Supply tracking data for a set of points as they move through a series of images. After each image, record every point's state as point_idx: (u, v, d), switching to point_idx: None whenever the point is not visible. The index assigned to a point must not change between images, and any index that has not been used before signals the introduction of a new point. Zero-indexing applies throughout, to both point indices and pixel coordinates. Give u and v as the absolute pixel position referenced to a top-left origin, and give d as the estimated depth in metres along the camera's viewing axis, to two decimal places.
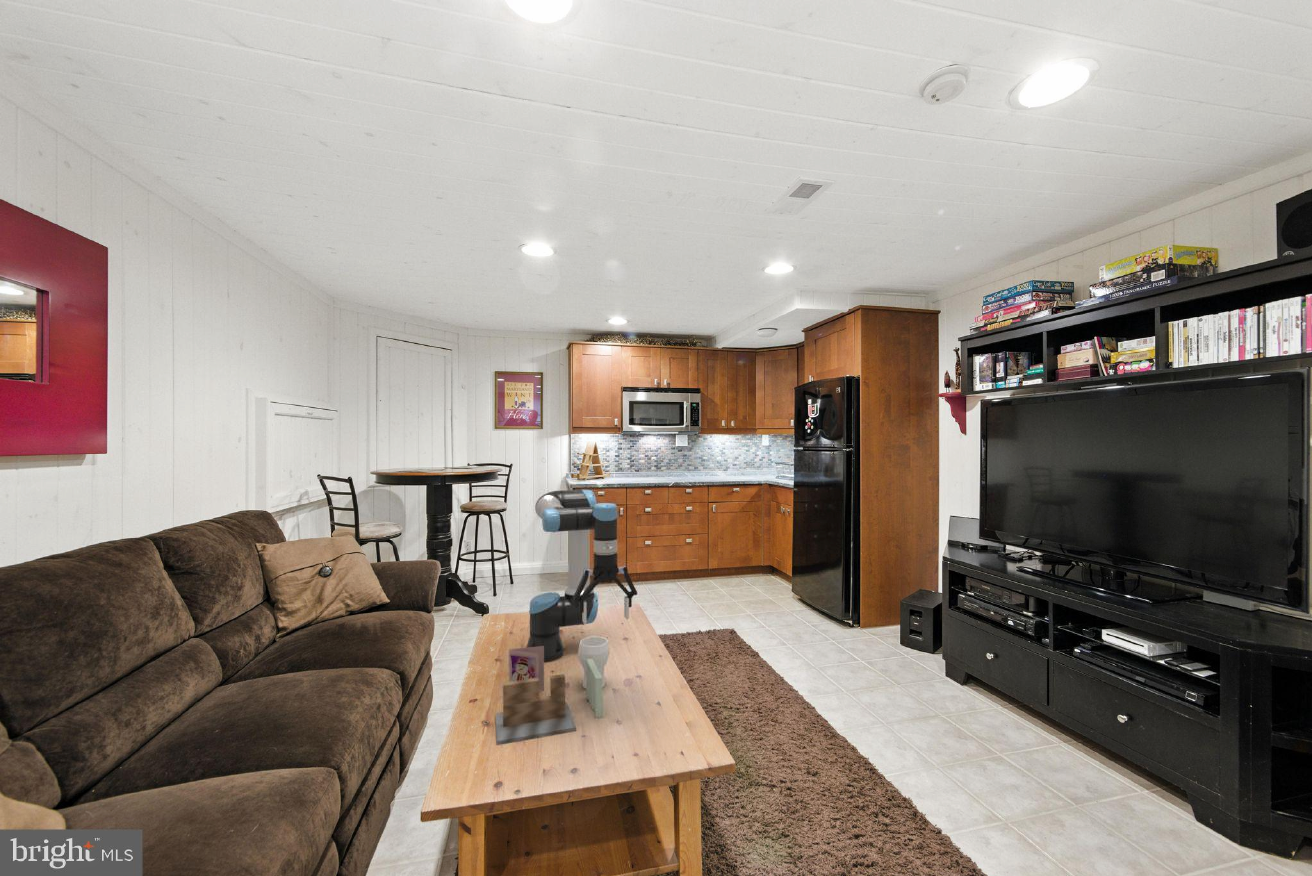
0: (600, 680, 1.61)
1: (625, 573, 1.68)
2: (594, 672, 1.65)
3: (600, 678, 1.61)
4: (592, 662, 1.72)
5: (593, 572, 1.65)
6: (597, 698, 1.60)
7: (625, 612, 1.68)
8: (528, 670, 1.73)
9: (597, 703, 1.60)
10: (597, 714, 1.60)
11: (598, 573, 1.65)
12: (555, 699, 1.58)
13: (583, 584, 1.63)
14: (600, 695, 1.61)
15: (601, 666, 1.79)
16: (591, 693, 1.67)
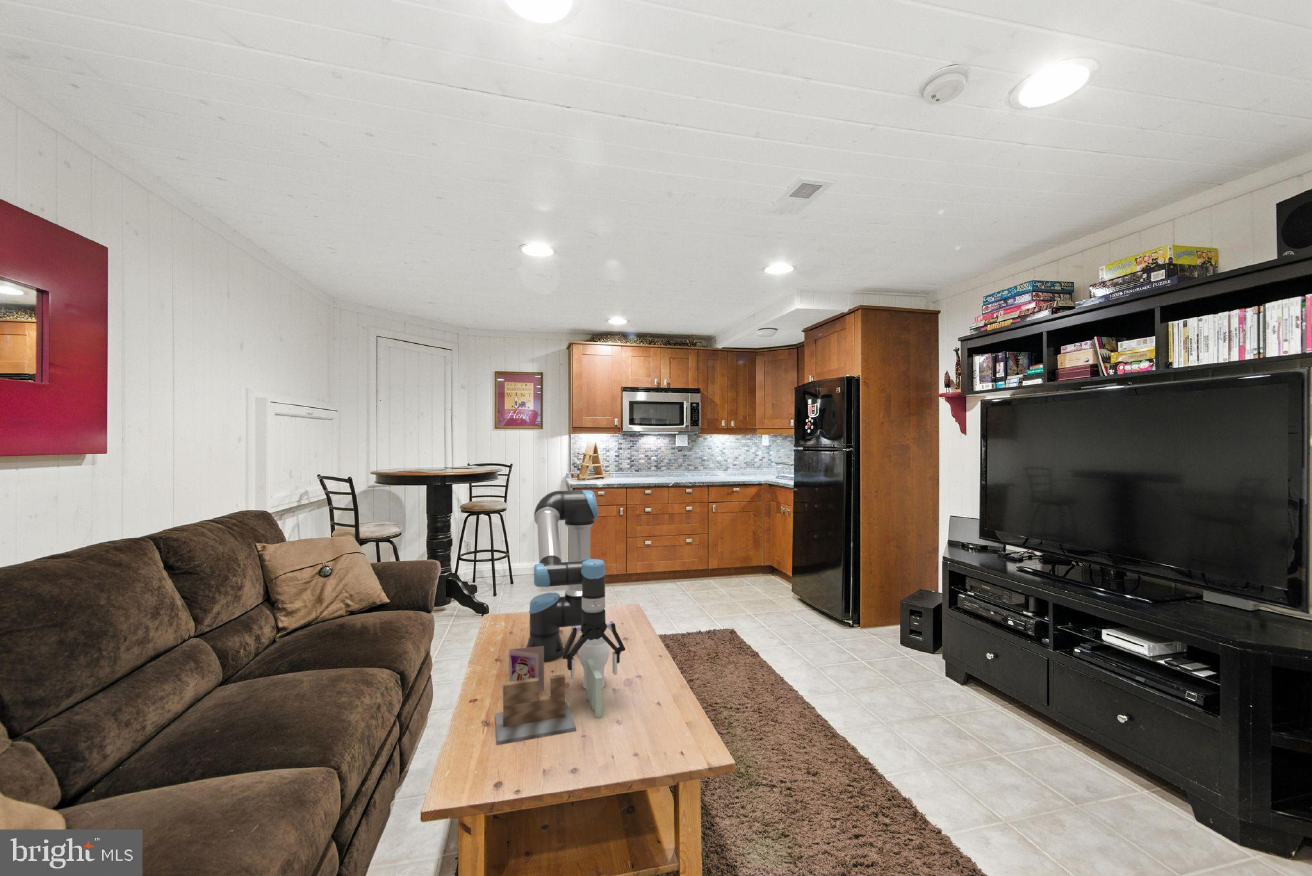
0: (600, 680, 1.61)
1: (613, 629, 1.69)
2: (594, 672, 1.65)
3: (600, 678, 1.61)
4: (592, 662, 1.72)
5: (581, 629, 1.66)
6: (597, 698, 1.60)
7: (613, 668, 1.70)
8: (528, 670, 1.73)
9: (597, 703, 1.60)
10: (597, 714, 1.60)
11: (586, 630, 1.66)
12: (555, 699, 1.58)
13: (571, 642, 1.65)
14: (600, 695, 1.61)
15: (601, 666, 1.79)
16: (591, 693, 1.67)
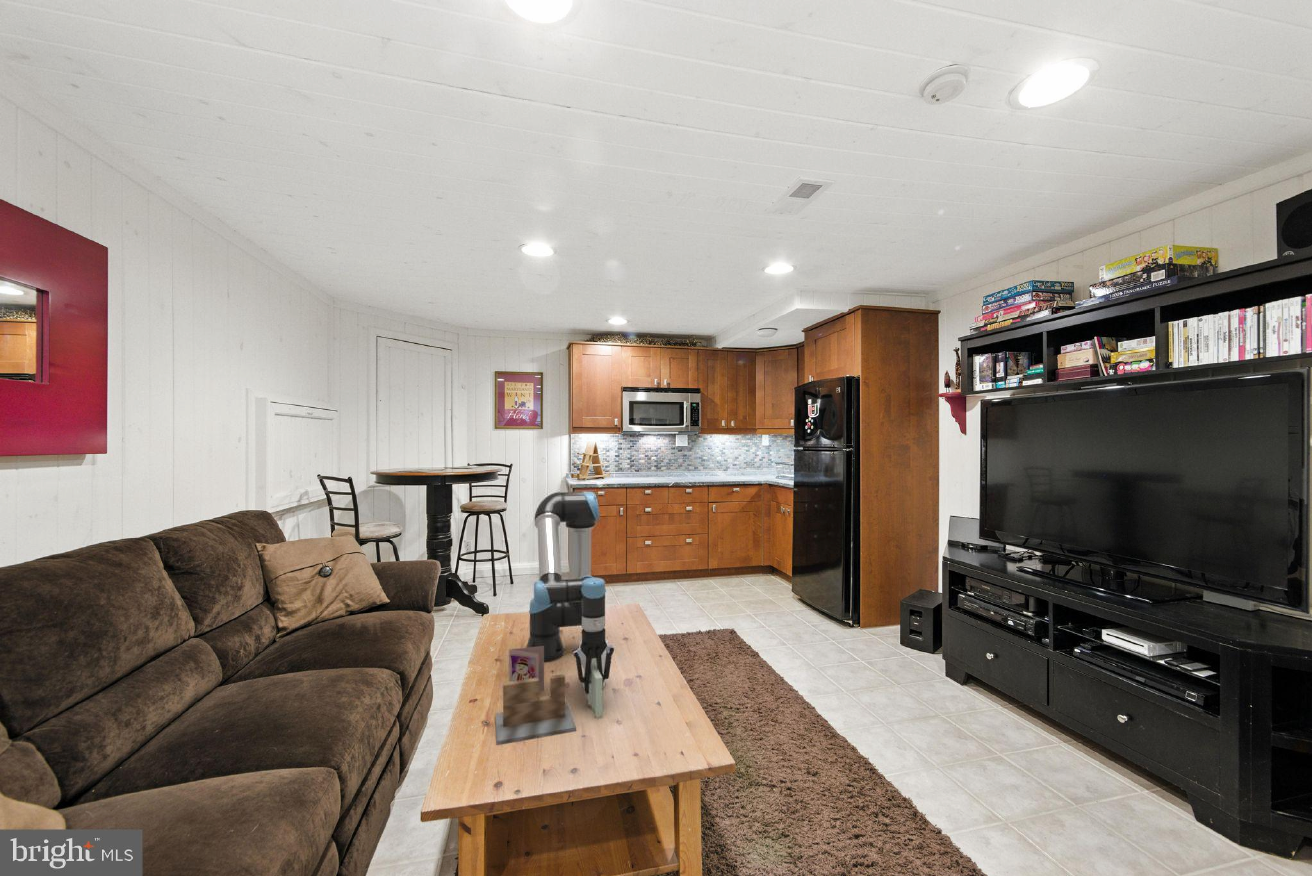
0: (600, 680, 1.61)
1: (609, 653, 1.69)
2: (594, 672, 1.65)
3: (600, 678, 1.61)
4: (592, 662, 1.72)
5: (582, 650, 1.66)
6: (597, 698, 1.60)
7: None
8: (528, 670, 1.73)
9: (597, 703, 1.60)
10: (597, 714, 1.60)
11: (586, 648, 1.67)
12: (555, 699, 1.58)
13: (579, 666, 1.66)
14: (600, 695, 1.61)
15: None
16: None
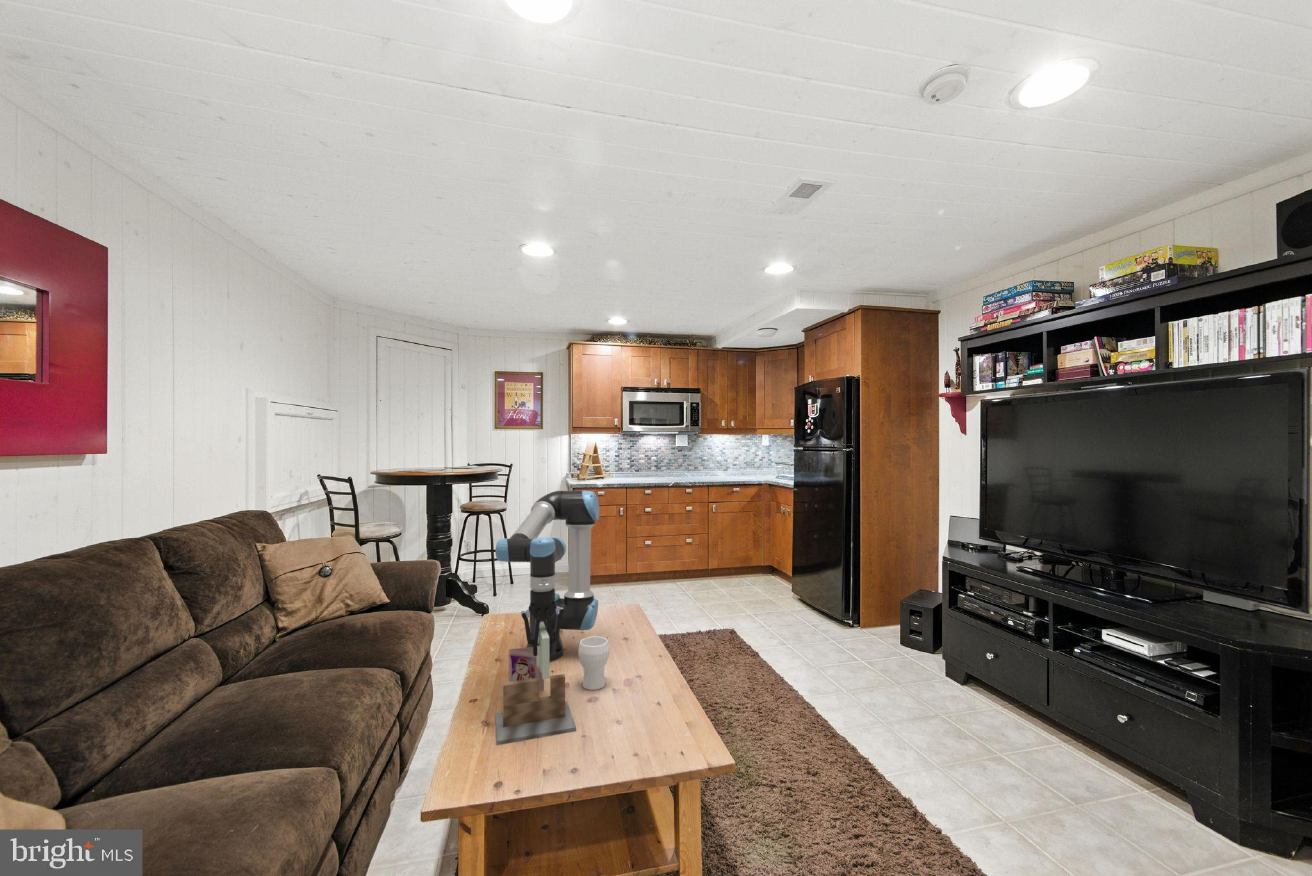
0: (547, 640, 1.56)
1: (559, 615, 1.64)
2: (542, 633, 1.59)
3: (546, 638, 1.56)
4: (542, 624, 1.67)
5: (530, 611, 1.61)
6: (544, 659, 1.55)
7: None
8: (528, 670, 1.73)
9: (544, 664, 1.55)
10: (544, 675, 1.55)
11: (535, 609, 1.62)
12: (555, 699, 1.58)
13: (527, 626, 1.61)
14: (547, 656, 1.56)
15: (601, 666, 1.79)
16: None
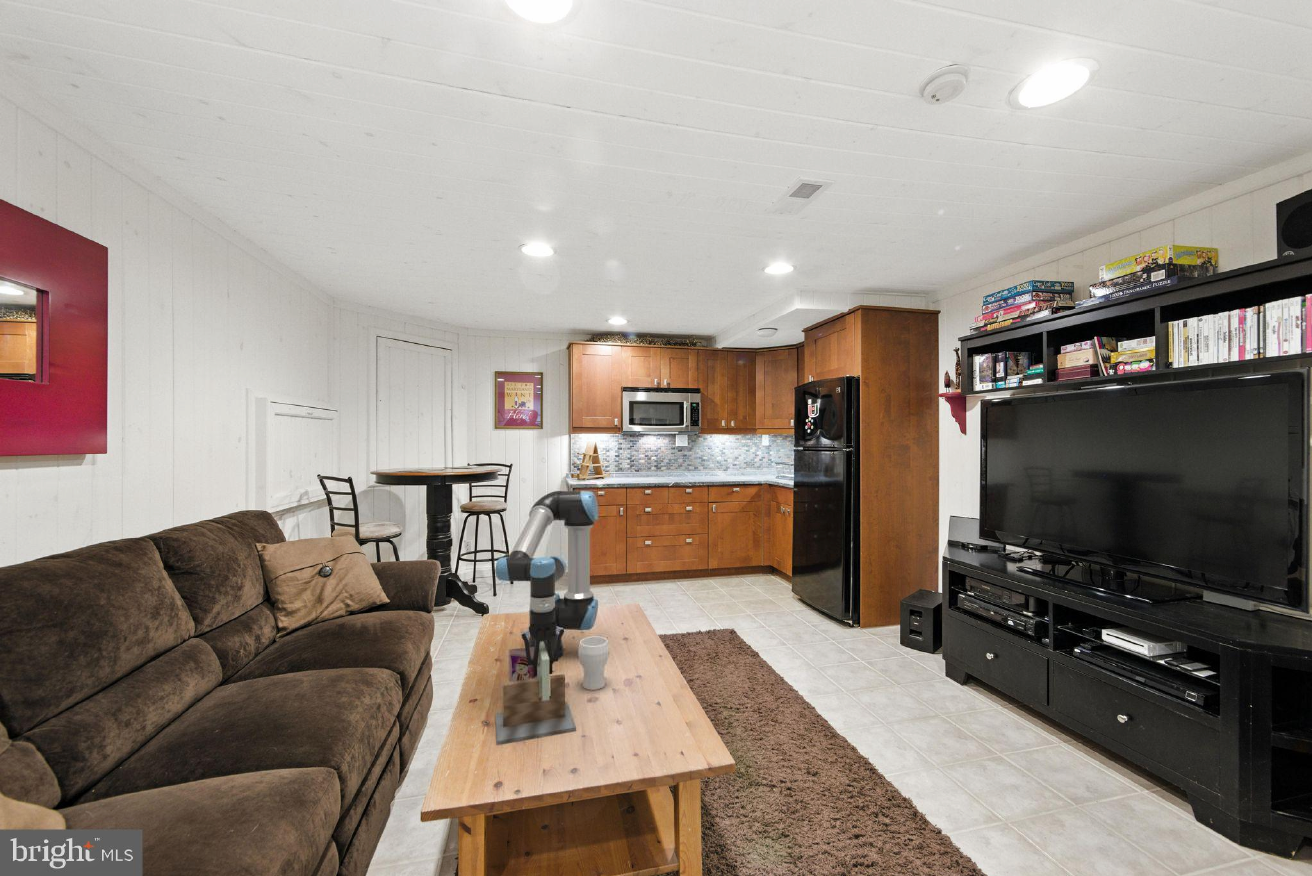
0: (547, 662, 1.56)
1: (559, 635, 1.64)
2: (542, 654, 1.59)
3: (546, 660, 1.56)
4: (542, 644, 1.67)
5: (530, 631, 1.61)
6: (544, 680, 1.55)
7: None
8: (528, 670, 1.73)
9: (544, 685, 1.55)
10: (543, 697, 1.55)
11: (535, 629, 1.61)
12: (555, 699, 1.58)
13: (527, 647, 1.61)
14: (547, 677, 1.55)
15: (601, 666, 1.79)
16: None
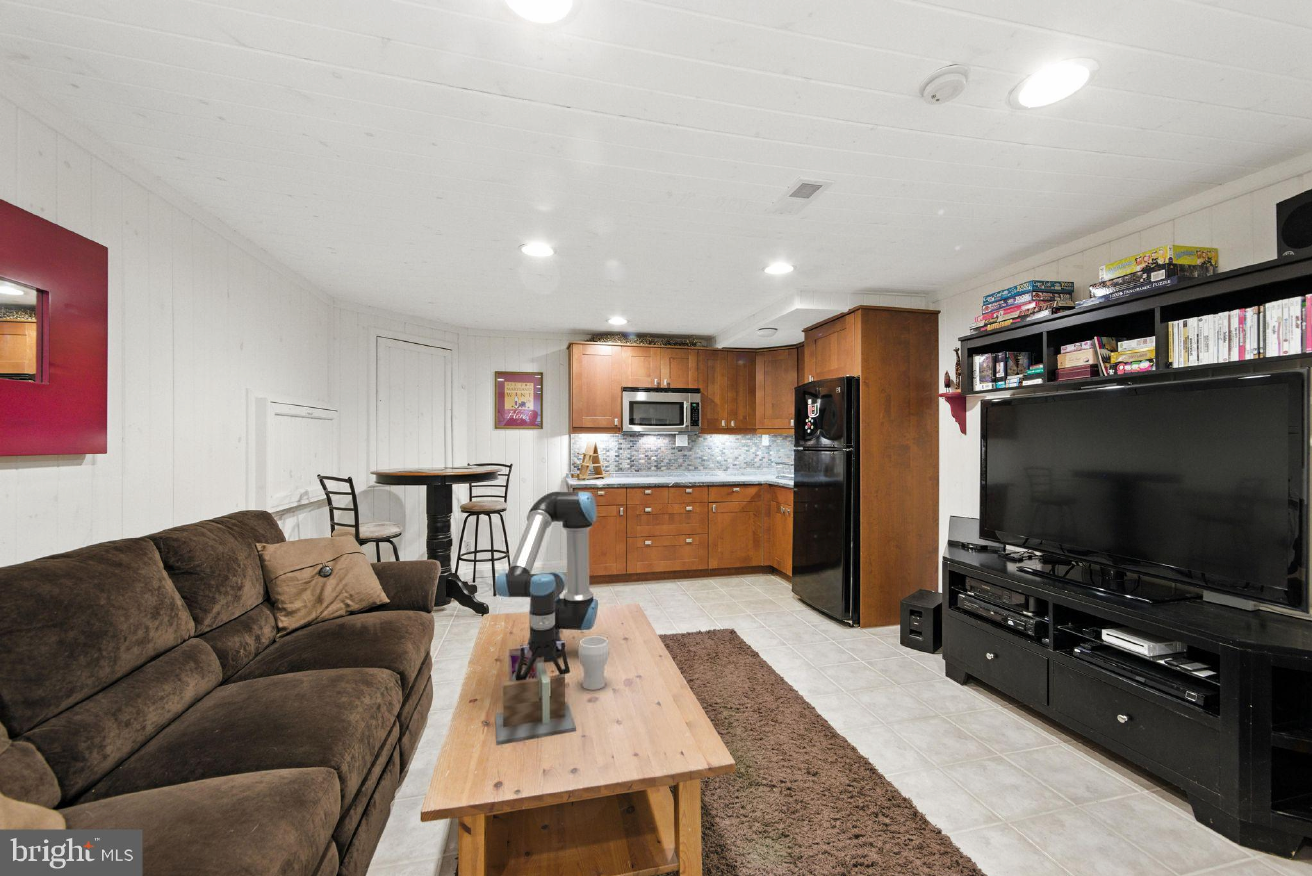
0: (547, 685, 1.56)
1: (562, 649, 1.64)
2: (542, 676, 1.59)
3: (547, 683, 1.56)
4: (542, 666, 1.67)
5: (529, 648, 1.61)
6: (544, 703, 1.55)
7: None
8: None
9: (544, 708, 1.55)
10: (544, 720, 1.55)
11: (535, 647, 1.61)
12: (555, 699, 1.58)
13: (521, 662, 1.60)
14: (547, 700, 1.56)
15: (601, 666, 1.79)
16: None
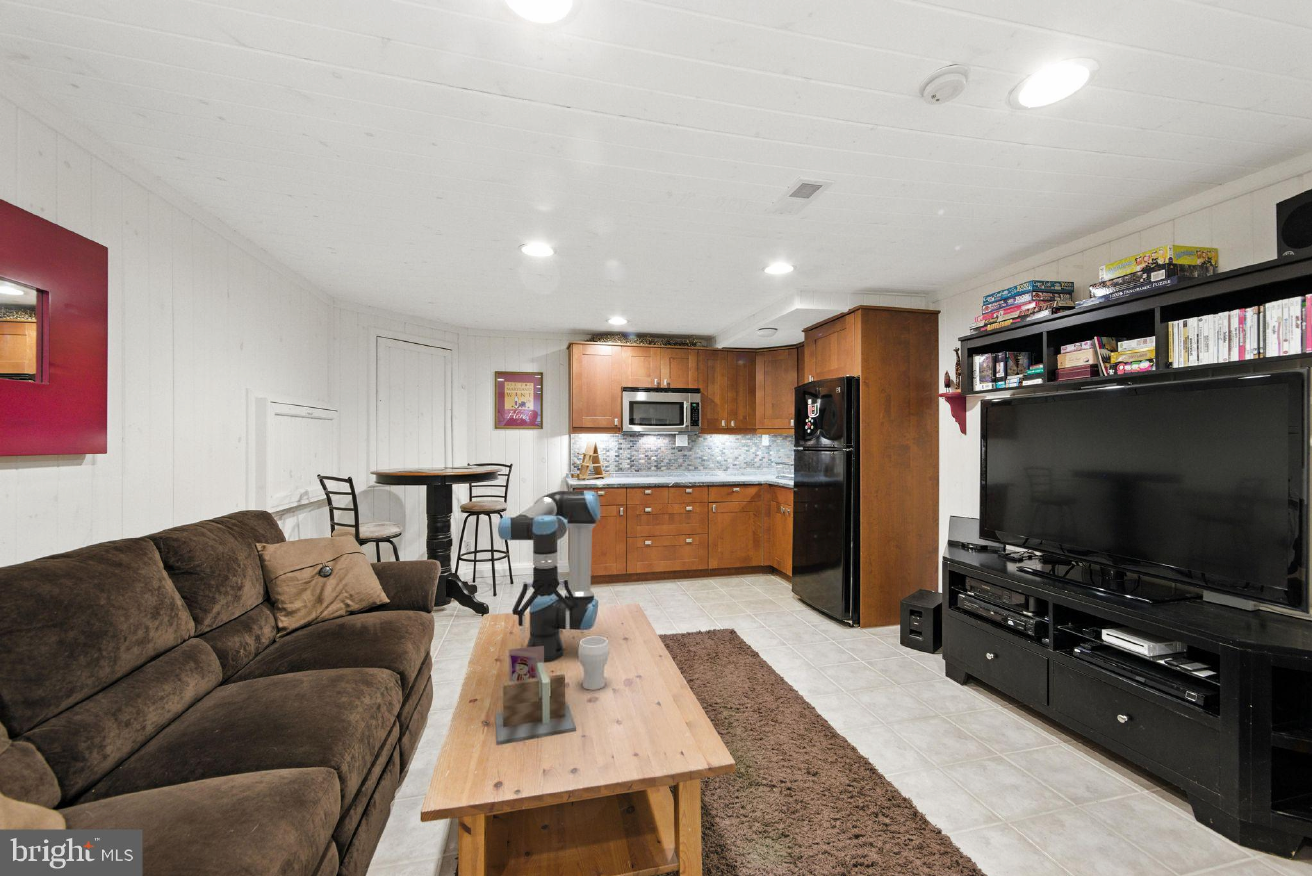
0: (547, 685, 1.56)
1: (565, 586, 1.66)
2: (542, 676, 1.59)
3: (547, 683, 1.56)
4: (542, 666, 1.67)
5: (532, 585, 1.63)
6: (544, 703, 1.55)
7: (566, 625, 1.67)
8: (528, 670, 1.73)
9: (544, 708, 1.55)
10: (544, 720, 1.55)
11: (537, 586, 1.63)
12: (555, 699, 1.58)
13: (522, 598, 1.62)
14: (547, 700, 1.56)
15: (601, 666, 1.79)
16: None
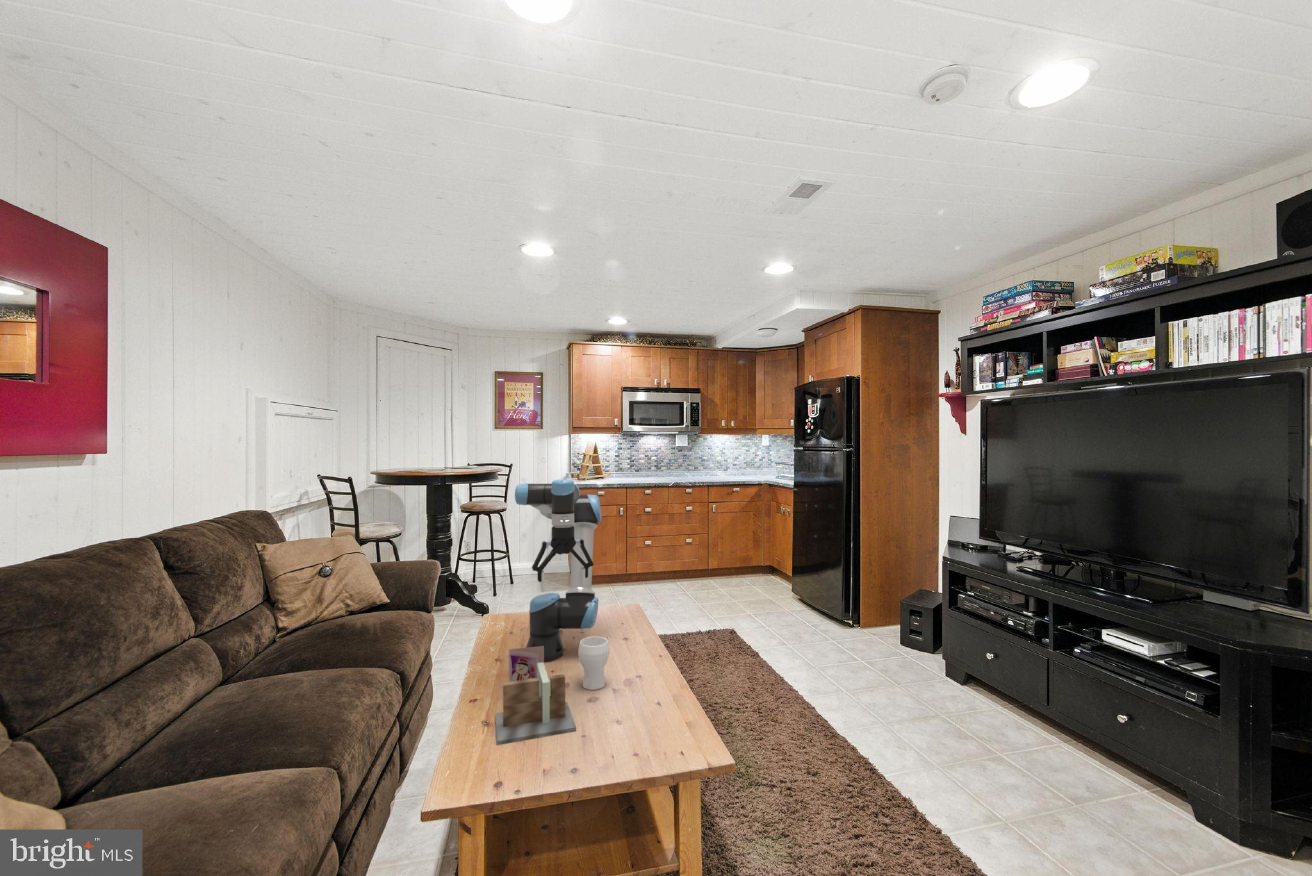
0: (547, 685, 1.56)
1: (582, 545, 1.77)
2: (542, 676, 1.59)
3: (547, 683, 1.56)
4: (542, 666, 1.67)
5: (551, 544, 1.74)
6: (544, 703, 1.55)
7: (582, 582, 1.78)
8: (528, 670, 1.73)
9: (544, 708, 1.55)
10: (544, 720, 1.55)
11: (555, 545, 1.75)
12: (555, 699, 1.58)
13: (541, 555, 1.73)
14: (547, 700, 1.56)
15: (601, 666, 1.79)
16: None
